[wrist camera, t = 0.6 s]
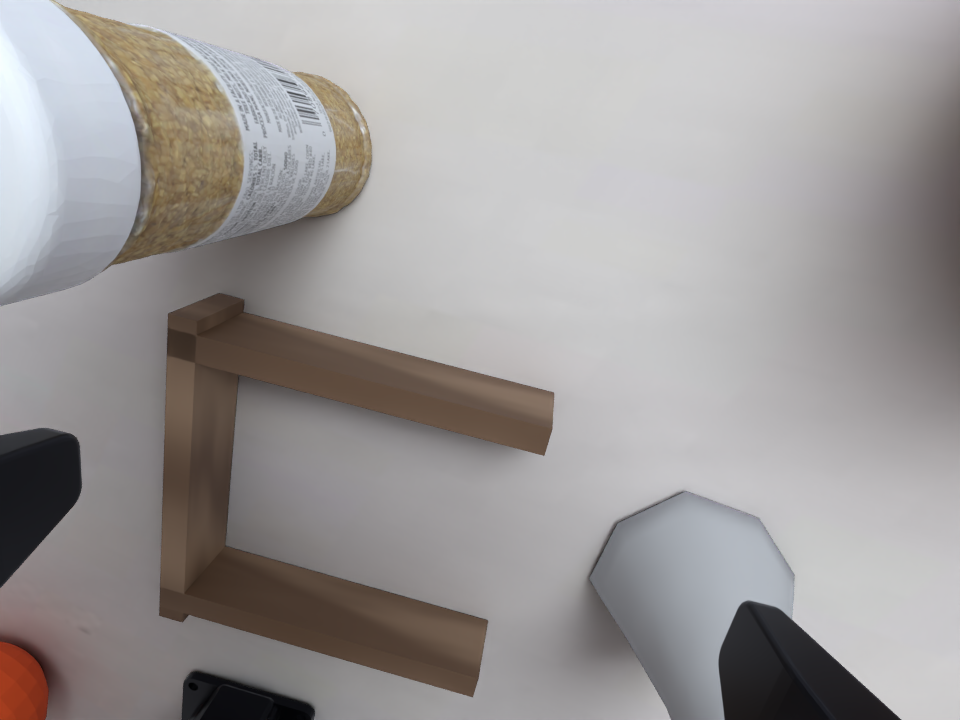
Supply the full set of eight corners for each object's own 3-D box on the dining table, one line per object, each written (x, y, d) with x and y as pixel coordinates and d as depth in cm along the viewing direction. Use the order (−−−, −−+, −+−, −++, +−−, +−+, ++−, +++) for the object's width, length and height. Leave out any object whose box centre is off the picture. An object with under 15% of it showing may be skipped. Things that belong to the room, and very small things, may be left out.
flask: (690, 672, 25) (765, 986, 15) (557, 574, 24) (551, 840, 15) (828, 569, 22) (1015, 867, 13) (683, 456, 22) (771, 686, 12)
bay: (480, 646, 26) (470, 706, 23) (202, 566, 27) (159, 615, 24) (557, 380, 21) (556, 415, 18) (218, 293, 22) (168, 313, 19)
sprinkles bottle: (222, 120, 20) (-369, 65, 7) (329, 44, 19) (-163, -181, 6) (296, 241, 21) (-109, 374, 8) (403, 176, 20) (113, 219, 7)
